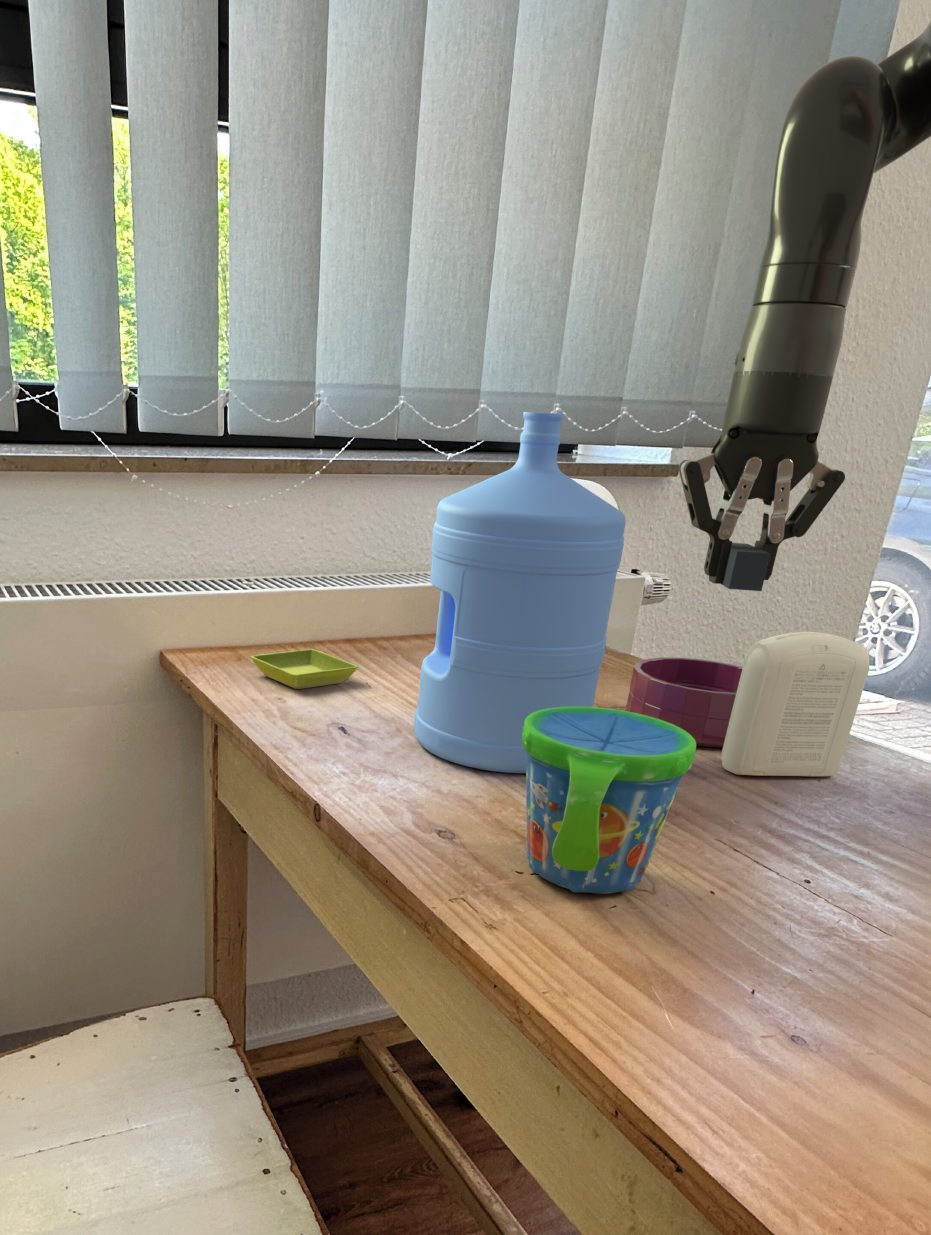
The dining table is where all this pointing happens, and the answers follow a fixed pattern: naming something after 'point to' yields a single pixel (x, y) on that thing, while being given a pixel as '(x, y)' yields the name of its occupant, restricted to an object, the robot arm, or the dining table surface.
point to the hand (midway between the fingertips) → (735, 582)
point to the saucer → (304, 668)
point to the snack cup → (599, 793)
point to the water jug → (516, 604)
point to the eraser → (746, 567)
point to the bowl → (686, 695)
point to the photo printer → (795, 705)
